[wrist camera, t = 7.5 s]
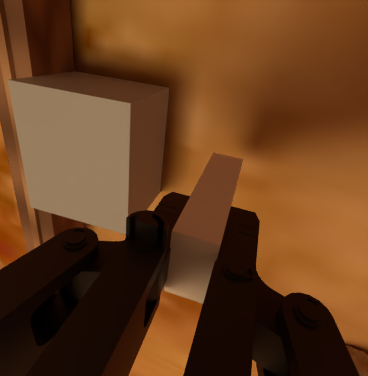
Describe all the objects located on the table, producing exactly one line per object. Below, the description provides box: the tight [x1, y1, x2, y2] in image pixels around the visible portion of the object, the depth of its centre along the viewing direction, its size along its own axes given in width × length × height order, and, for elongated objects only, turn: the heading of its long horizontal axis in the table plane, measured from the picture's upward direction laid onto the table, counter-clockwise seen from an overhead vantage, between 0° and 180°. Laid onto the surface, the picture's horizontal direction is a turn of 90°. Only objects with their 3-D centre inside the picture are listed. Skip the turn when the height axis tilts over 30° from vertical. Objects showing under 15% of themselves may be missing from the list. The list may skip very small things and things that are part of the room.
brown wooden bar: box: [0, 0, 85, 253], centre depth 20 cm, size 30×3×4 cm, turn 173°
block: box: [7, 71, 169, 235], centre depth 18 cm, size 8×7×6 cm
